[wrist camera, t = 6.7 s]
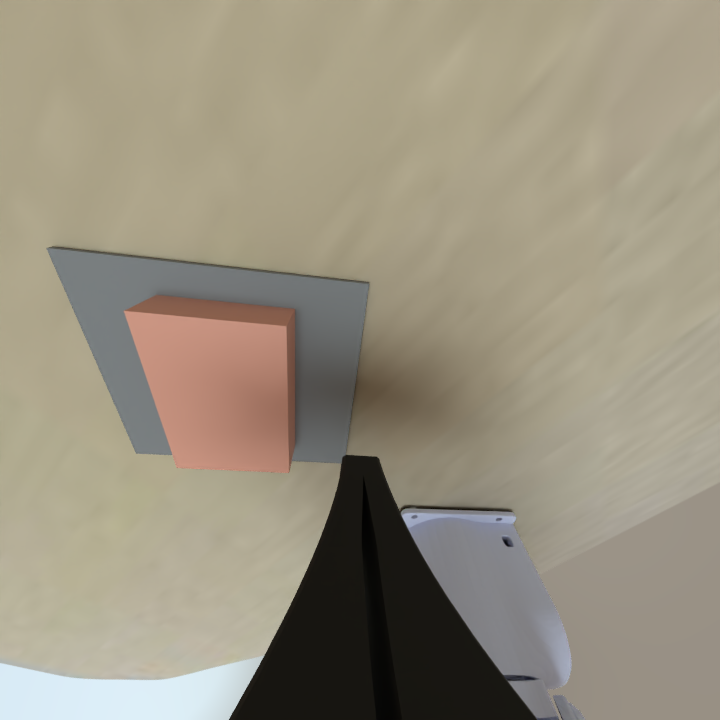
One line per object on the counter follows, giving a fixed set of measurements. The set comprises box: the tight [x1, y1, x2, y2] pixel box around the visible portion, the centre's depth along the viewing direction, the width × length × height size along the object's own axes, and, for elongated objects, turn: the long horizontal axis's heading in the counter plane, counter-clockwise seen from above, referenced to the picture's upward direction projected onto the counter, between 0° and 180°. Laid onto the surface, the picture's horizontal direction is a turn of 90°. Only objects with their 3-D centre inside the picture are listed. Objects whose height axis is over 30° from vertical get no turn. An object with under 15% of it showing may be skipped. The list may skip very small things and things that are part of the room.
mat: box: [47, 247, 369, 463], centre depth 14 cm, size 13×12×1 cm
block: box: [124, 295, 295, 473], centre depth 13 cm, size 2×9×6 cm
